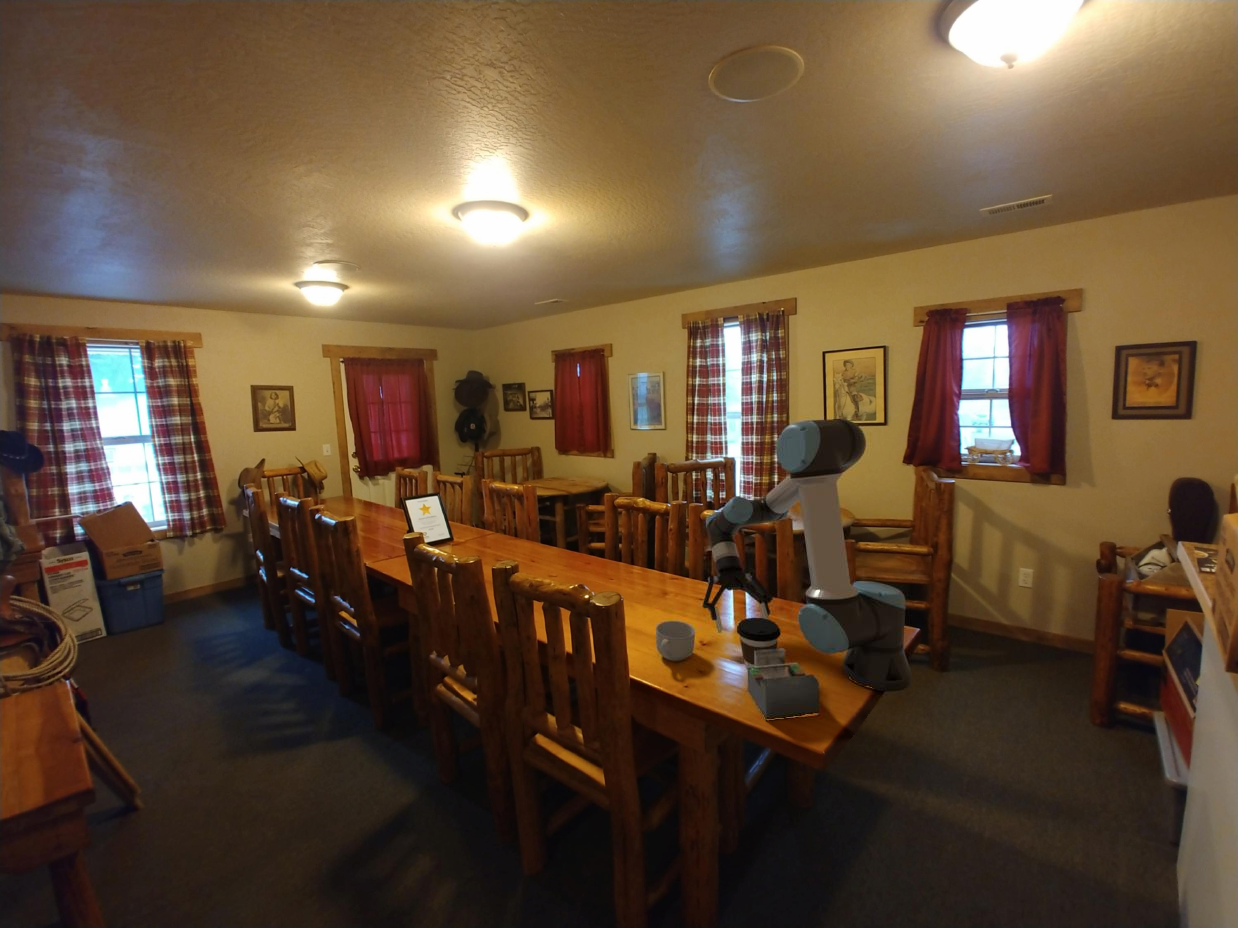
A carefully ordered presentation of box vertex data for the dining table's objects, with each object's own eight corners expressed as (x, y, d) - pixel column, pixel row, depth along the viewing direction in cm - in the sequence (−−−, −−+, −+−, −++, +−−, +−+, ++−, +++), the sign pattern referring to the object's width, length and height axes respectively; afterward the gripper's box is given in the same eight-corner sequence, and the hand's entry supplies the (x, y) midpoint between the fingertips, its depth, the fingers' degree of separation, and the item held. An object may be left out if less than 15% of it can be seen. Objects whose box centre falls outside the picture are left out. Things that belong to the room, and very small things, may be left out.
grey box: (747, 691, 123) (747, 660, 122) (795, 686, 124) (795, 655, 123) (765, 721, 112) (765, 686, 111) (818, 715, 113) (818, 681, 112)
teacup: (670, 642, 149) (669, 616, 148) (703, 653, 142) (702, 625, 141) (641, 662, 138) (640, 634, 137) (675, 675, 131) (674, 645, 130)
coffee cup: (786, 680, 127) (786, 634, 125) (742, 681, 127) (741, 636, 126) (774, 658, 138) (773, 615, 136) (733, 659, 138) (732, 617, 136)
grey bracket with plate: (747, 681, 125) (746, 650, 124) (790, 677, 126) (790, 647, 125) (756, 696, 119) (755, 664, 118) (801, 692, 120) (802, 659, 118)
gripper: (763, 562, 159) (783, 629, 146) (684, 568, 157) (698, 637, 144) (770, 551, 153) (791, 620, 140) (688, 557, 151) (702, 627, 138)
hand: (744, 629), depth 142 cm, fingers open, 13 cm apart
